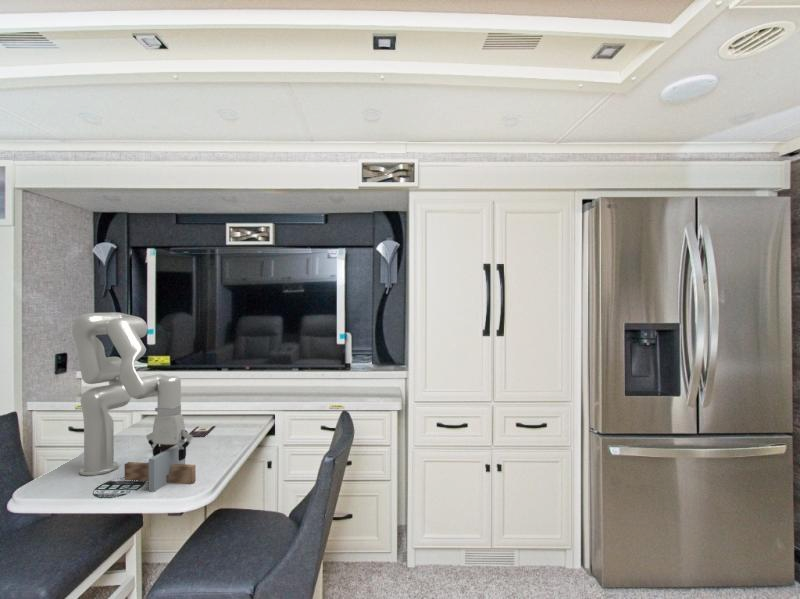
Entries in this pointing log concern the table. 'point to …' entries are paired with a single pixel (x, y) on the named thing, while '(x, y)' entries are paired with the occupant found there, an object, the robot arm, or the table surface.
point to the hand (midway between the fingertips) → (169, 458)
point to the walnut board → (177, 475)
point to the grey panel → (162, 467)
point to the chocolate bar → (201, 431)
